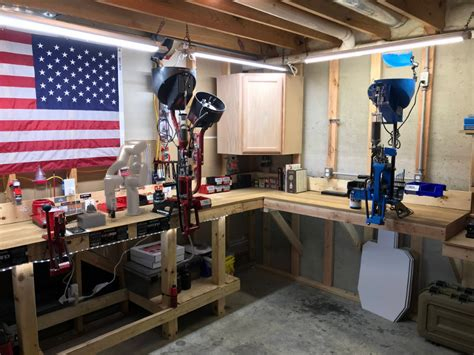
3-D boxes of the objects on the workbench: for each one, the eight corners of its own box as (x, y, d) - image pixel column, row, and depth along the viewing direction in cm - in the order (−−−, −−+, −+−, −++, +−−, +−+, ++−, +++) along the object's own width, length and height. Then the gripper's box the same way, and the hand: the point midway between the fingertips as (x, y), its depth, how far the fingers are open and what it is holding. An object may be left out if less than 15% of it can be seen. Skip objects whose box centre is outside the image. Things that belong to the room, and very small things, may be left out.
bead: (113, 217, 288) (113, 212, 287) (115, 218, 285) (115, 212, 284) (108, 218, 285) (108, 213, 284) (110, 219, 282) (110, 214, 281)
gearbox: (99, 222, 283) (98, 209, 282) (106, 225, 274) (105, 211, 273) (77, 226, 272) (76, 212, 271) (83, 229, 264) (82, 215, 262)
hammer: (58, 230, 275) (98, 218, 295) (55, 216, 272) (95, 204, 292) (56, 229, 278) (95, 217, 298) (52, 214, 276) (92, 203, 296)
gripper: (119, 194, 278) (121, 218, 281) (110, 191, 290) (112, 214, 293) (109, 196, 273) (112, 221, 276) (100, 192, 285) (102, 216, 288)
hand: (112, 217), depth 285 cm, fingers closed on bead, 3 cm apart
